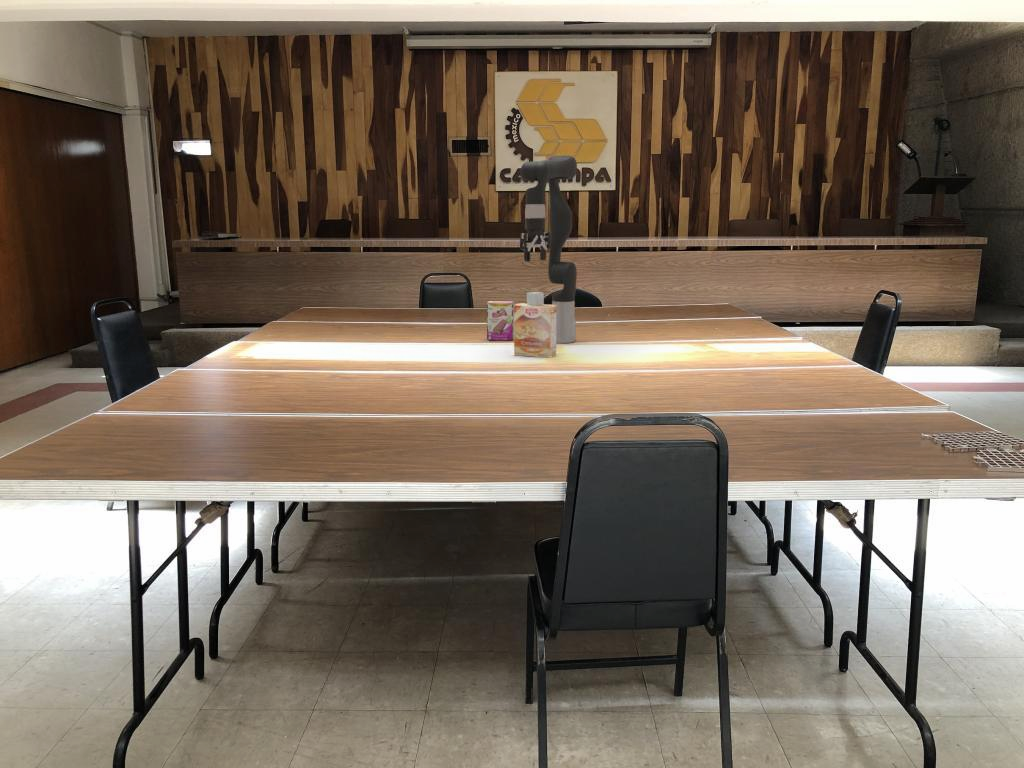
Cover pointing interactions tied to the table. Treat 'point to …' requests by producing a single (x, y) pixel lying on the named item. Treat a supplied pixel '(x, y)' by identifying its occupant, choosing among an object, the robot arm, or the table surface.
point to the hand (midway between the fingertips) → (535, 260)
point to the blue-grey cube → (535, 298)
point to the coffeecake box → (535, 330)
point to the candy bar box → (500, 320)
